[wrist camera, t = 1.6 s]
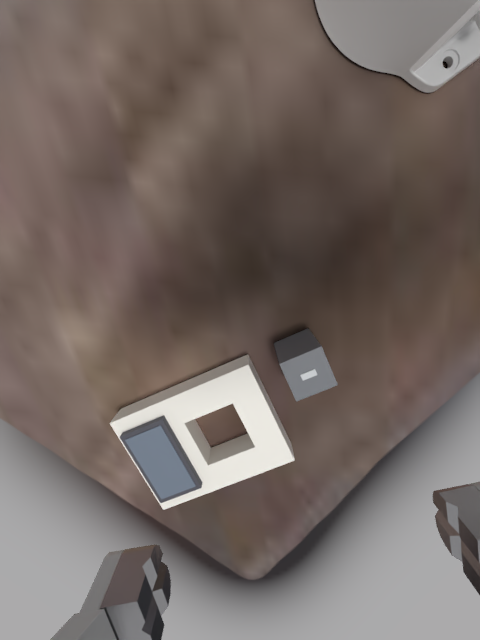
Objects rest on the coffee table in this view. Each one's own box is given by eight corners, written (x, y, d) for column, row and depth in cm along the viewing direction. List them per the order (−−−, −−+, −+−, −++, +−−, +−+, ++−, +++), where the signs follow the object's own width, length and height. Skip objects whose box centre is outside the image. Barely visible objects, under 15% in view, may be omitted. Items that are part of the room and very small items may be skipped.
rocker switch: (308, 328, 33) (321, 346, 27) (322, 360, 34) (338, 385, 28) (273, 343, 34) (279, 364, 28) (288, 374, 34) (296, 401, 28)
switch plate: (248, 354, 34) (248, 368, 30) (291, 442, 36) (296, 466, 32) (120, 408, 36) (105, 428, 32) (169, 489, 38) (161, 516, 34)
